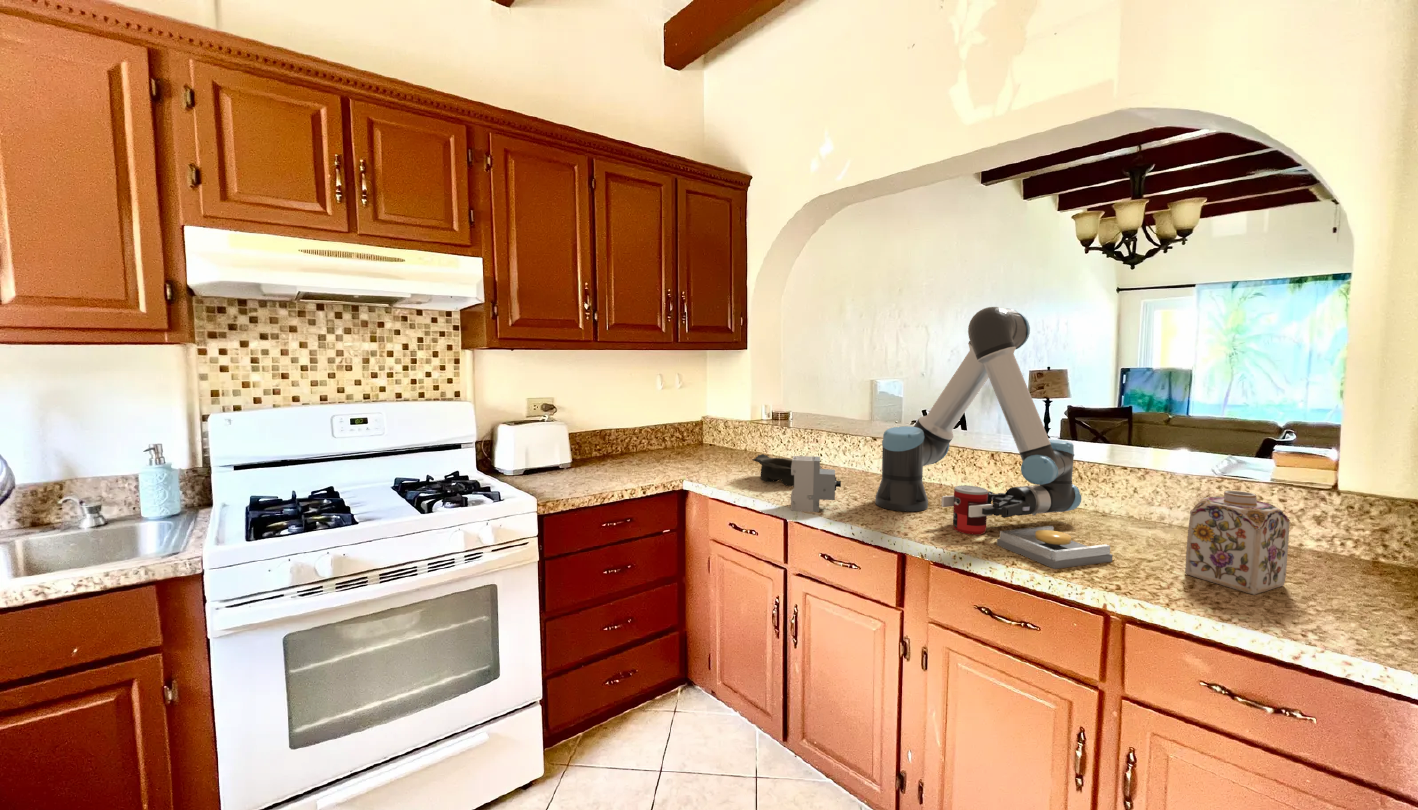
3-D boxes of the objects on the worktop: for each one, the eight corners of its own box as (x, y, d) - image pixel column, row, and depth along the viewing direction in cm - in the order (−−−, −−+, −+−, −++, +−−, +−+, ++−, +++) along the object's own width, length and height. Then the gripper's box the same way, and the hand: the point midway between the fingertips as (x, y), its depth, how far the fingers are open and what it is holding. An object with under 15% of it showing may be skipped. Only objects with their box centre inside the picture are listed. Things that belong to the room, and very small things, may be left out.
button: (1051, 538, 134) (1052, 528, 134) (1078, 548, 128) (1078, 537, 127) (1027, 541, 132) (1028, 531, 132) (1053, 551, 126) (1054, 540, 126)
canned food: (959, 524, 153) (961, 483, 152) (990, 530, 147) (992, 488, 146) (947, 530, 148) (949, 488, 147) (979, 537, 142) (981, 493, 141)
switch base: (1050, 539, 140) (1050, 525, 140) (1112, 561, 125) (1113, 545, 124) (996, 545, 136) (997, 530, 135) (1054, 568, 120) (1055, 552, 120)
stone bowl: (739, 481, 204) (740, 456, 204) (777, 476, 223) (778, 452, 223) (799, 491, 188) (800, 463, 188) (834, 484, 207) (835, 458, 207)
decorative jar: (1254, 596, 107) (1262, 502, 105) (1182, 574, 117) (1188, 489, 116) (1287, 586, 111) (1295, 496, 110) (1215, 566, 122) (1221, 483, 120)
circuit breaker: (840, 513, 164) (841, 461, 162) (790, 510, 166) (791, 460, 165) (839, 506, 171) (840, 457, 170) (792, 504, 174) (792, 455, 172)
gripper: (1061, 525, 141) (987, 533, 135) (994, 503, 163) (927, 509, 156) (1063, 496, 141) (988, 502, 135) (995, 478, 162) (928, 483, 156)
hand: (955, 506), depth 146 cm, fingers open, 9 cm apart
